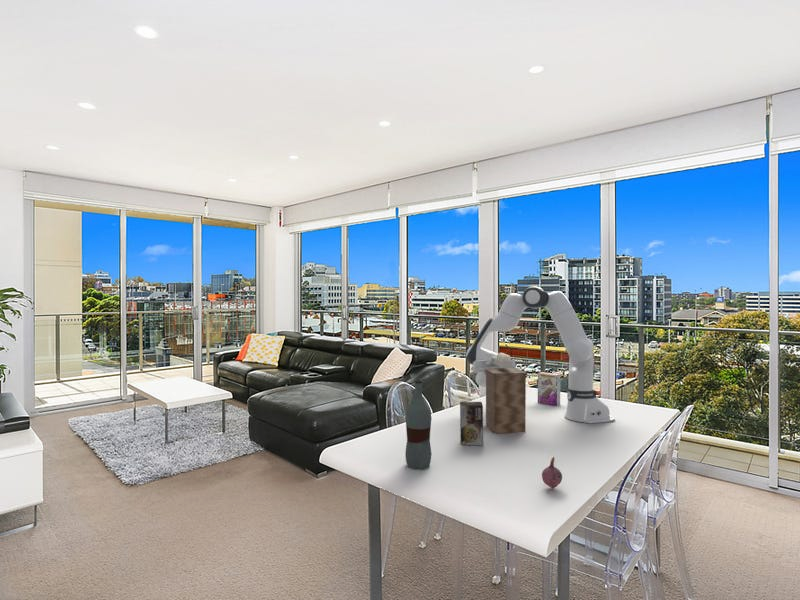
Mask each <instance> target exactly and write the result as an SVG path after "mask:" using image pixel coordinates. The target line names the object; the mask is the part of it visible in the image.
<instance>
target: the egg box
mask: <svg viewBox="0 0 800 600" xmlns="http://www.w3.org/2000/svg"><path fill="white" fill-rule="evenodd" d="M491 358H493V360H494V362H493V364H495V365H497V366H499V367H501V368H512V361H511V360H512V357H511V355H509V354H506V353H504V352H497V356H491Z"/></svg>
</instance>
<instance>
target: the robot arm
mask: <svg viewBox="0 0 800 600" xmlns="http://www.w3.org/2000/svg"><path fill="white" fill-rule="evenodd" d="M527 308H528V309H534V310H536V309H537V310H538V309H540V308H544V309H546V310H547V312H548V313H549V315H550V317H551V319H552V321H553V324H554V325H555V328H556V329H557V332H558V333H559V337H560V338H561V341H562V343H563V346H564V348H565V350H566V352H567V354H568V356H569V359H568V360H569V362H568V363H569V364H568V378H567V379H568V387H567V392H566V393H567V394H566V395H567V396H566V397H567V405H566V410H565V414H564V418H565V419H567V420H569V421H570V420H571V421H574V422H581V423H585V424H597V423H606V422H607V423H609V422H615V421H616V419H615V417H614V416H612V415H611V414H610V409H609V407H608V405H607V404H605V403H604V402H603V401H602V400H600V399H599V398H598V397H599V396H601V394H602V392H600V391H599V390H595V389H594V353H595V352H594V348H595V347H594V343H593V341H592V340H591V339H590V338H589V337H587V334H586V332H585V329H584V327H583V325H582V323H581V321H580V319H579V317H578V315H577V313H576V312H575V309H574V308H573V306H572V304H571V302H570V301H569V299H568V298H567V296H566V295H565V294H564V293H563V292H562V291H560V290H554V291H551V292H547V291H545V290H544V289H543V288H541V287H540V286H535V285H533V286H528V287H526V288H525V290H523V293H522V294H519V293H516V292H515V293H514V292H513V293H509V294H508V295H507V296H506V298H505V299H504V301H503V302H502V304H501V306H500V309H499V311H498V313H497V314H496V315H495V316H494V317H491V318H489V319H488V320H487V321H486V323H485V324H484V325H483V327H482V328H481V330H480V332H479V333H478V335H477V336H476V338H475V339H474V341H473V343H472V344H471V346H469V348H468V349H467V350H466V353H465V359H466V361H467V363H468V364H470V365H472V366H471V367H470V371H472V372H473V373H476V376H475V382H476V384H477V385H478V386H479V387H482V388H486V371H485V369H491V368H501V367H499V366H497V365H495V364H493V362H494V360H493V358H491V356H497V354H498V352H497V353H496V352H494V351H491V350H489V349H486V348H484V347H482V345H483V343H484V342H485V341H486V339H487V337H488V336H489V335H490V333H492V332H493V333H494V332H510V331H512V330H515V329H516V328H517V326H518V325H519V323H520V320H521V318H522V316H523V313H524V312H525V310H526V309H527ZM511 361H512V368H517V366H516V361H515V359H511ZM597 396H598V397H597Z"/></svg>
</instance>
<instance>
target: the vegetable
mask: <svg viewBox="0 0 800 600" xmlns="http://www.w3.org/2000/svg"><path fill="white" fill-rule="evenodd" d="M541 477H542V478H541V480H542V481H543V483H544V484H545V486H548V487H550V488H551V489H555V488H556V487H557V486H559V485H560V484H561V483H562V480H563V474H562V472H561V470H560V469H559V468H557V467H556V466H555V456H552V458H551V459H550V464H549V465H548V466H547V467H545V468H544V469H543V470H542V472H541Z"/></svg>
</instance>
